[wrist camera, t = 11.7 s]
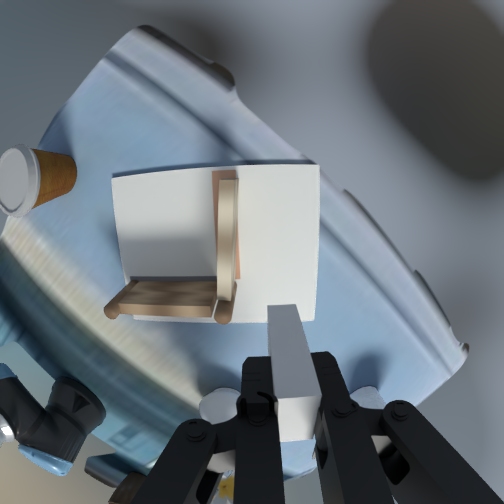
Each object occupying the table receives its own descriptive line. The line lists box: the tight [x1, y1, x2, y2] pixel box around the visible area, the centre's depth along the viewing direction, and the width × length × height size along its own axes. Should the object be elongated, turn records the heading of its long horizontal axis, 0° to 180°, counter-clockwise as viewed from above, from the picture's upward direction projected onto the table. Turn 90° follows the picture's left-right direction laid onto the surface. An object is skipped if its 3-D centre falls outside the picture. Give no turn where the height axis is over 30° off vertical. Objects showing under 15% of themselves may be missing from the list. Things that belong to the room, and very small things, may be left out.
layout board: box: [111, 164, 320, 323], centre depth 36 cm, size 28×22×1 cm
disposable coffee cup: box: [0, 144, 77, 217], centre depth 28 cm, size 10×10×12 cm
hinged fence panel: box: [217, 178, 239, 301], centre depth 31 cm, size 13×2×7 cm, turn 177°
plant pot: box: [108, 472, 146, 504], centre depth 53 cm, size 15×15×16 cm
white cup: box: [350, 386, 386, 409], centre depth 40 cm, size 8×8×10 cm
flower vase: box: [199, 388, 241, 504], centre depth 33 cm, size 13×18×25 cm
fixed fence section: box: [104, 280, 237, 324], centre depth 34 cm, size 16×2×8 cm, turn 92°
